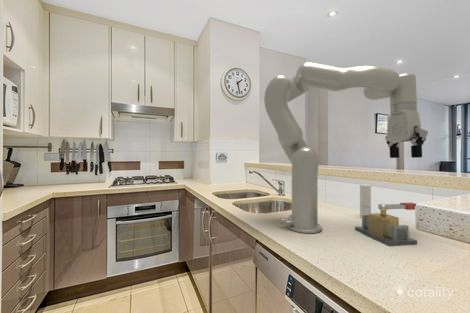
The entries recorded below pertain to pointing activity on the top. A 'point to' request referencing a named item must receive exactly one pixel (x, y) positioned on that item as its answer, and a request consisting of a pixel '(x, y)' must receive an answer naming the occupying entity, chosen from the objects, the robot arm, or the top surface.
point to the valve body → (385, 229)
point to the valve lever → (397, 206)
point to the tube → (365, 199)
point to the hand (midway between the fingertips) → (404, 157)
